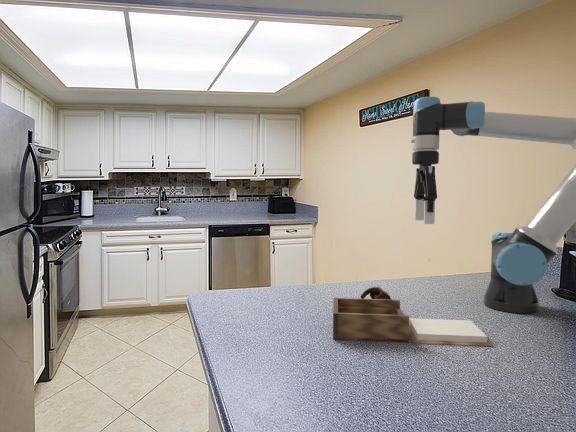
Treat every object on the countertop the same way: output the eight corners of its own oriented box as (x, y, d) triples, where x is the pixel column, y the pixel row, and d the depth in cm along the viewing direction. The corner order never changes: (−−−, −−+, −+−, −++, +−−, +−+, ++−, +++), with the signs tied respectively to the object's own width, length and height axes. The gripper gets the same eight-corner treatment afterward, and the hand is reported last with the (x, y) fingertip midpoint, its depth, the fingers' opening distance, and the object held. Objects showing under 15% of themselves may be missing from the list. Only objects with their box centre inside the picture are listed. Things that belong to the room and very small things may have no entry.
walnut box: (399, 323, 113) (399, 299, 113) (408, 342, 99) (409, 316, 98) (333, 320, 115) (333, 297, 115) (333, 339, 101) (333, 313, 100)
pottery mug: (399, 317, 120) (388, 294, 118) (370, 329, 122) (358, 307, 119) (390, 296, 132) (380, 275, 129) (363, 308, 133) (353, 287, 131)
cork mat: (471, 325, 111) (471, 324, 111) (492, 346, 96) (492, 345, 96) (402, 322, 113) (402, 321, 113) (413, 343, 98) (413, 342, 98)
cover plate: (470, 325, 110) (470, 320, 110) (486, 342, 98) (487, 336, 98) (408, 323, 112) (408, 318, 112) (417, 339, 100) (417, 333, 100)
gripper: (405, 154, 136) (404, 218, 137) (421, 147, 111) (419, 225, 112) (429, 154, 135) (427, 219, 136) (450, 146, 110) (448, 225, 112)
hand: (424, 222), depth 124 cm, fingers open, 13 cm apart
